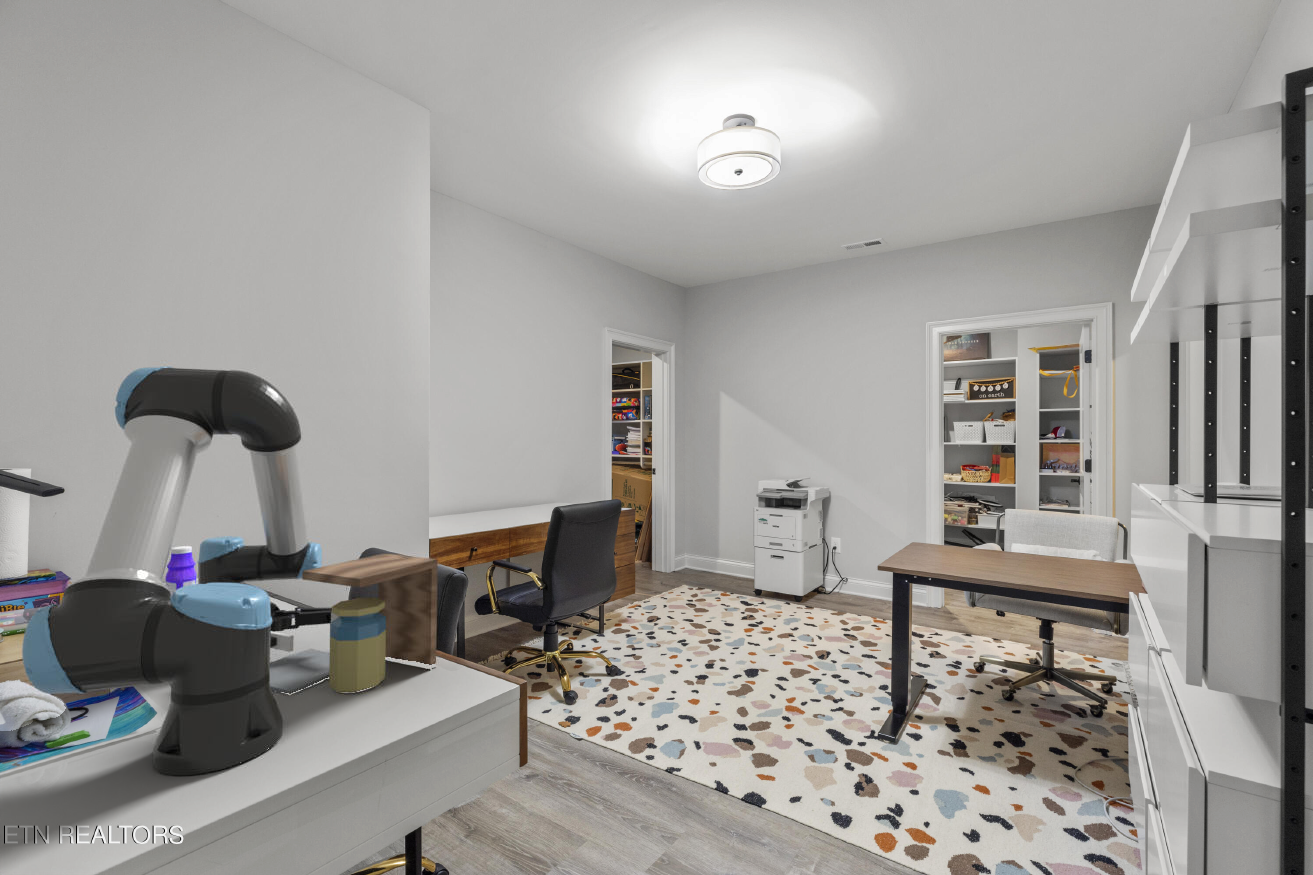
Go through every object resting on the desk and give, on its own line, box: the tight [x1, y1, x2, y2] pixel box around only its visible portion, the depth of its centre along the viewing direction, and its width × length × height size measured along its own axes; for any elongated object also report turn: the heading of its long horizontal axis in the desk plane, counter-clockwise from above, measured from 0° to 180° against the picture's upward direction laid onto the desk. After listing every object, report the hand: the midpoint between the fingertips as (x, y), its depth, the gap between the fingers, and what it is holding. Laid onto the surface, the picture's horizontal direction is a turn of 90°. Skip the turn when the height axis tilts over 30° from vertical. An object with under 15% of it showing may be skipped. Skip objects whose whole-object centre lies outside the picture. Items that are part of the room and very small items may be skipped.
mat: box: [270, 648, 330, 694], centre depth 113 cm, size 16×16×1 cm
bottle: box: [165, 545, 198, 598], centre depth 147 cm, size 7×6×17 cm
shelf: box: [301, 553, 439, 665], centre depth 110 cm, size 14×18×22 cm
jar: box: [328, 597, 386, 693], centre depth 107 cm, size 9×9×15 cm
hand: (325, 632), depth 111 cm, fingers open, 13 cm apart
